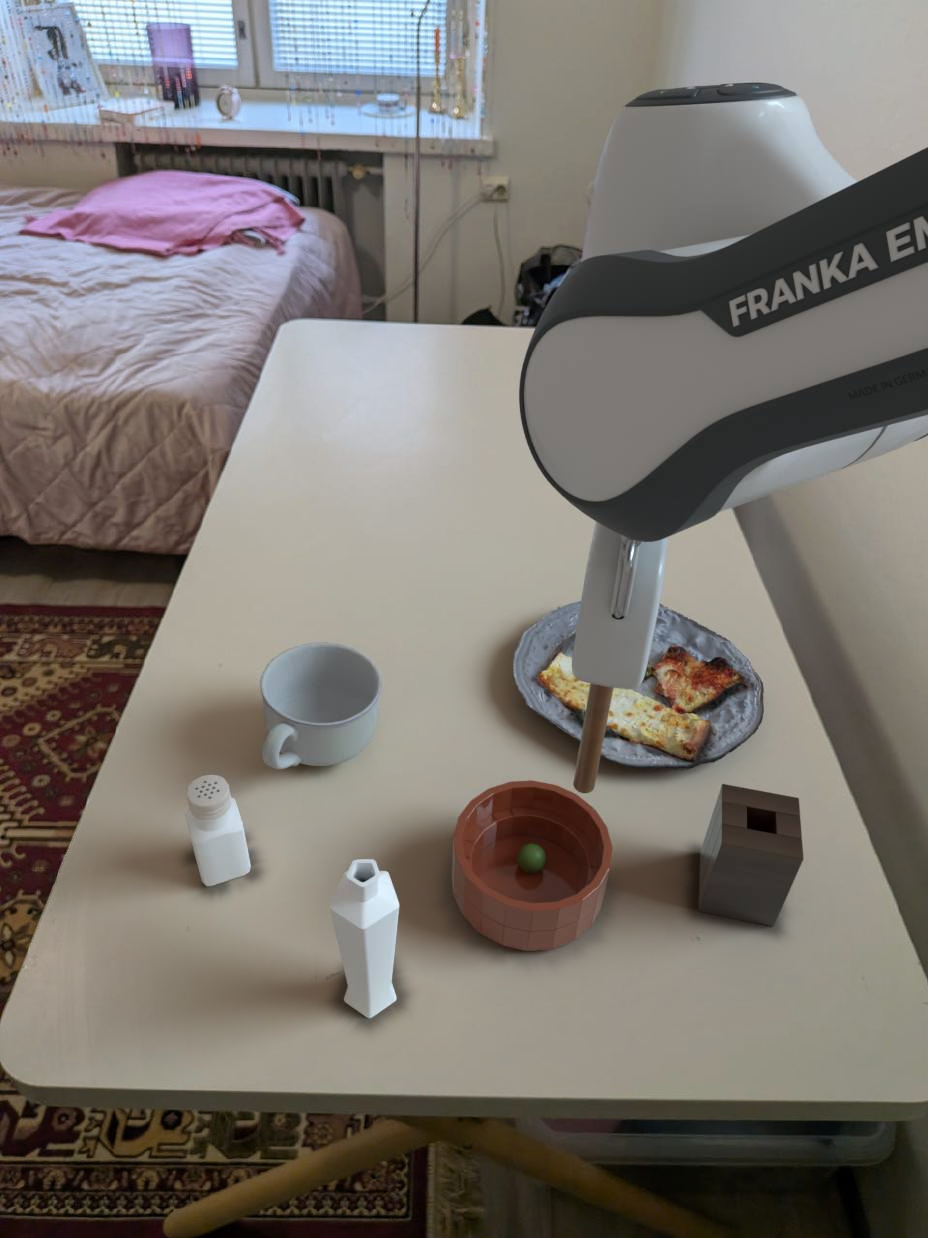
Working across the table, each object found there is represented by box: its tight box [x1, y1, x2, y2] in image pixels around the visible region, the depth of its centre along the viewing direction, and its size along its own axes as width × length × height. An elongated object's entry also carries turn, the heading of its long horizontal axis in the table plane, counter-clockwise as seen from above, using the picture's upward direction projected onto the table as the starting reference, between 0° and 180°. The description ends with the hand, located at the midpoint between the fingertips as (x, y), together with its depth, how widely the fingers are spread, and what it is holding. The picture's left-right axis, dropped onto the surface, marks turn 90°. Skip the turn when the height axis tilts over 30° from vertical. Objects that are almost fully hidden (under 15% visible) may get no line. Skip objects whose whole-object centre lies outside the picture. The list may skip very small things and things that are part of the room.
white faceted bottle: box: [329, 858, 400, 1019], centre depth 64 cm, size 5×4×15 cm
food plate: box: [512, 600, 765, 770], centre depth 94 cm, size 25×23×4 cm
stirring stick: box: [572, 683, 614, 794], centre depth 60 cm, size 2×2×18 cm
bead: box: [517, 843, 546, 873], centre depth 77 cm, size 2×2×2 cm
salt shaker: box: [184, 773, 252, 887], centre depth 74 cm, size 4×4×10 cm
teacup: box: [259, 641, 382, 770], centre depth 85 cm, size 14×11×8 cm
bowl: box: [451, 780, 614, 952], centre depth 75 cm, size 12×12×6 cm
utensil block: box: [698, 783, 805, 927], centre depth 74 cm, size 6×6×9 cm
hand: (610, 639), depth 57 cm, fingers closed on stirring stick, 2 cm apart
